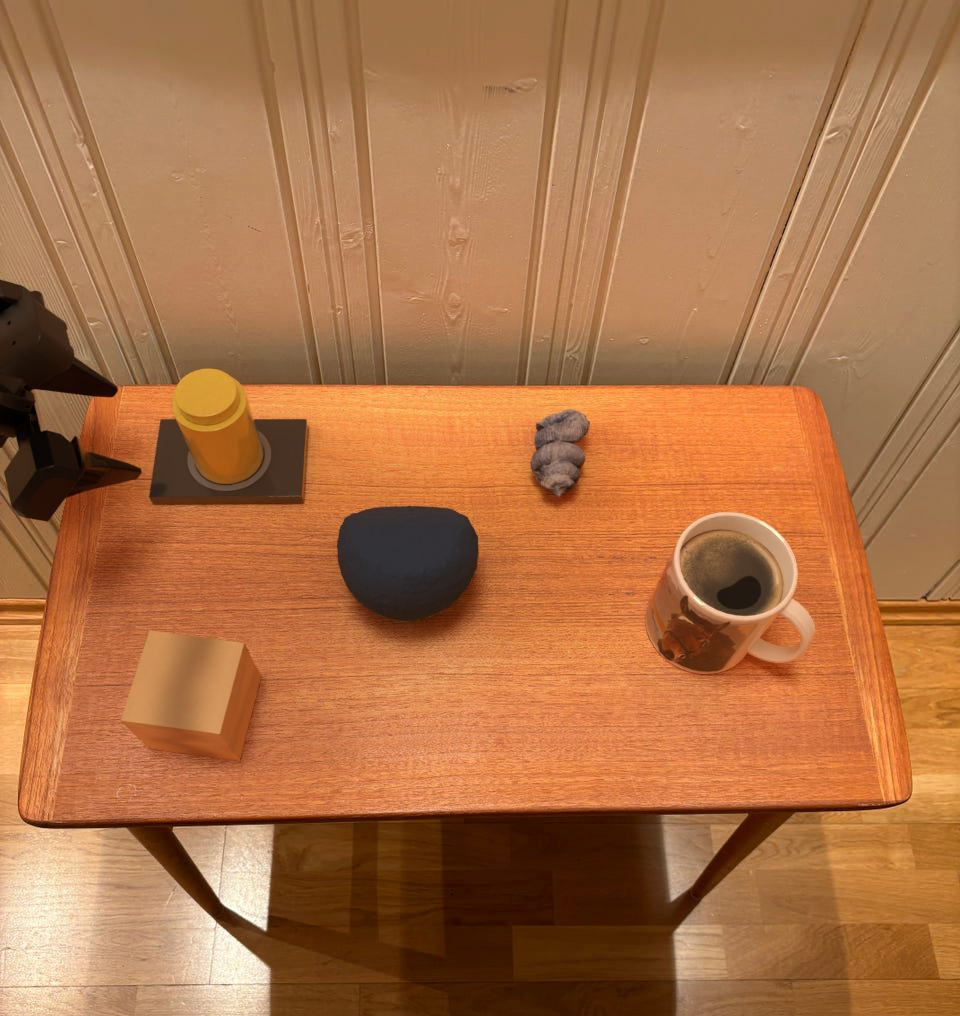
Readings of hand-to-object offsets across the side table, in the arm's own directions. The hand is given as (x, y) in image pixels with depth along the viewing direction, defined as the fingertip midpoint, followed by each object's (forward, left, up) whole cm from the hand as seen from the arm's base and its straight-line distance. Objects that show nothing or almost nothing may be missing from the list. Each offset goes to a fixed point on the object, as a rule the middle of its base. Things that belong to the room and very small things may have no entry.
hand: (127, 432), depth 74 cm
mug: (+52, -8, -8) cm, 54 cm away
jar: (+6, +4, -7) cm, 10 cm away
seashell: (+37, +8, -8) cm, 39 cm away
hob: (+6, +4, -8) cm, 11 cm away
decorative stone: (+25, -7, -8) cm, 28 cm away
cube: (+10, -21, -8) cm, 25 cm away
